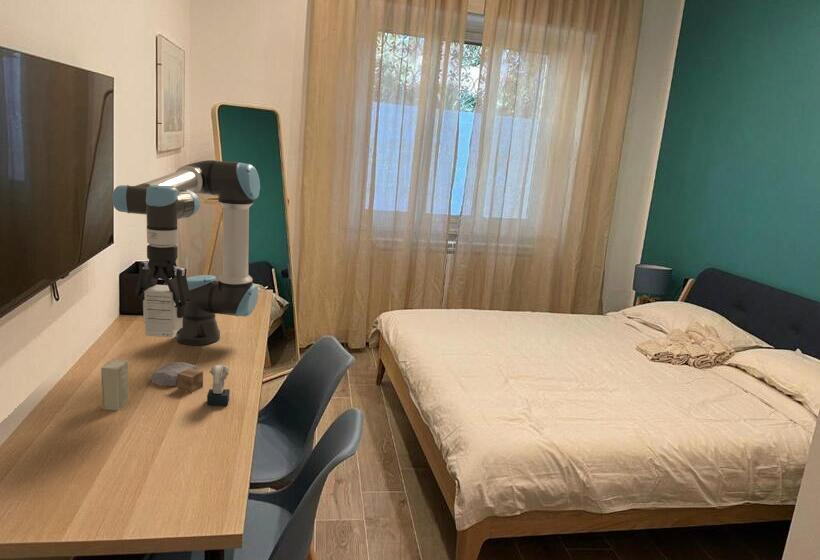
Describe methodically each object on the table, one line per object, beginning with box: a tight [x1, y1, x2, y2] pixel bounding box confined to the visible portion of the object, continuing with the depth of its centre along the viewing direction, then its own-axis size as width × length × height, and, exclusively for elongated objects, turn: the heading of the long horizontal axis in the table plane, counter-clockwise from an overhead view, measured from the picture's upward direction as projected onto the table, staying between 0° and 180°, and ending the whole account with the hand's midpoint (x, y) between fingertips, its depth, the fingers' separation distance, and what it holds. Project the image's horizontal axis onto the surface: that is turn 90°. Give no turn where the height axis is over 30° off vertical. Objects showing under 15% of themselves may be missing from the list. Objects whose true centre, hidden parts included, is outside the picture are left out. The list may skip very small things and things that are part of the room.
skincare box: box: [100, 358, 130, 411], centre depth 160 cm, size 6×4×12 cm
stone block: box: [150, 361, 197, 387], centre depth 182 cm, size 12×5×10 cm
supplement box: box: [144, 284, 180, 338], centre depth 161 cm, size 7×7×13 cm
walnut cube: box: [177, 368, 204, 394], centre depth 176 cm, size 5×5×5 cm
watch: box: [206, 364, 231, 407], centre depth 167 cm, size 6×8×11 cm
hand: (163, 325), depth 162 cm, fingers closed on supplement box, 9 cm apart
